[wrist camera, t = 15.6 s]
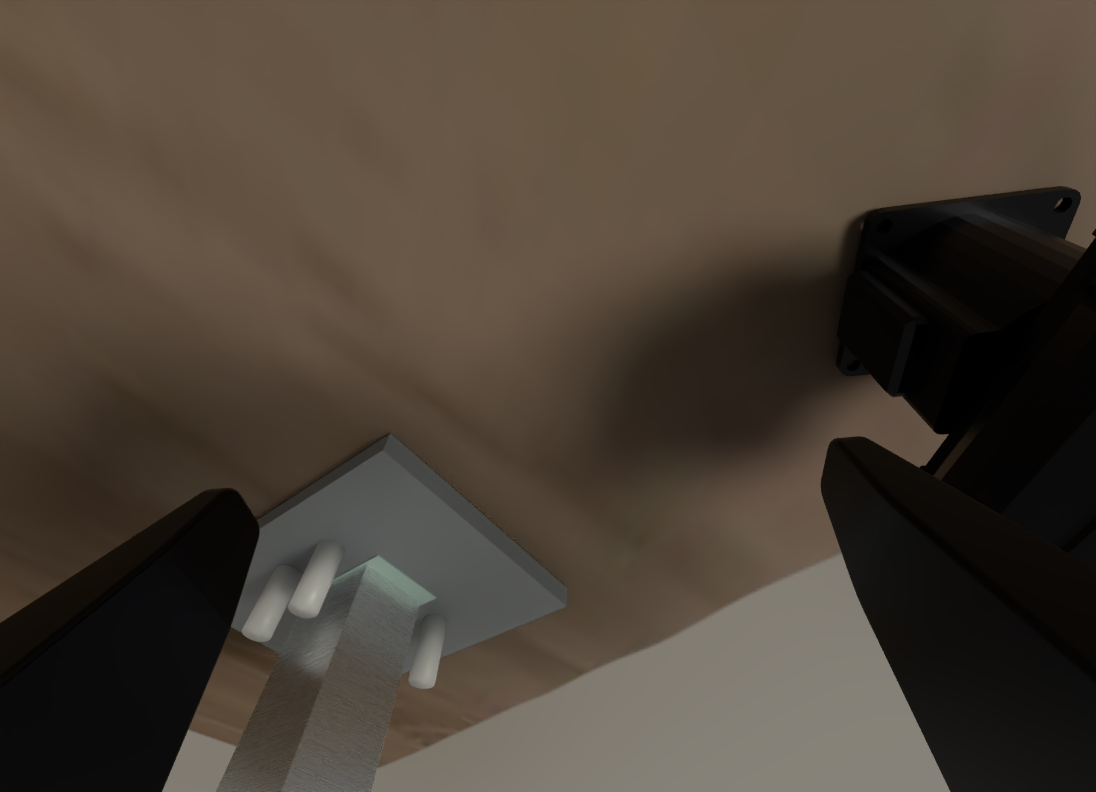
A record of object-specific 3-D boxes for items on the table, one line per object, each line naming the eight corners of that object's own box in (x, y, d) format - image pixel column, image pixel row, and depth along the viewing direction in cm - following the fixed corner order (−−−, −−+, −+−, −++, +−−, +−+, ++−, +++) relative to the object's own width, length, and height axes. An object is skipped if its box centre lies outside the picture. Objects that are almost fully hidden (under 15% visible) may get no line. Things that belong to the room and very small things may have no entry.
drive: (367, 564, 28) (269, 821, 19) (420, 602, 30) (354, 854, 21) (306, 596, 30) (190, 845, 21) (360, 630, 31) (275, 873, 22)
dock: (390, 433, 24) (356, 508, 20) (567, 588, 30) (566, 668, 27) (177, 571, 31) (121, 649, 27) (358, 676, 37) (333, 751, 33)
